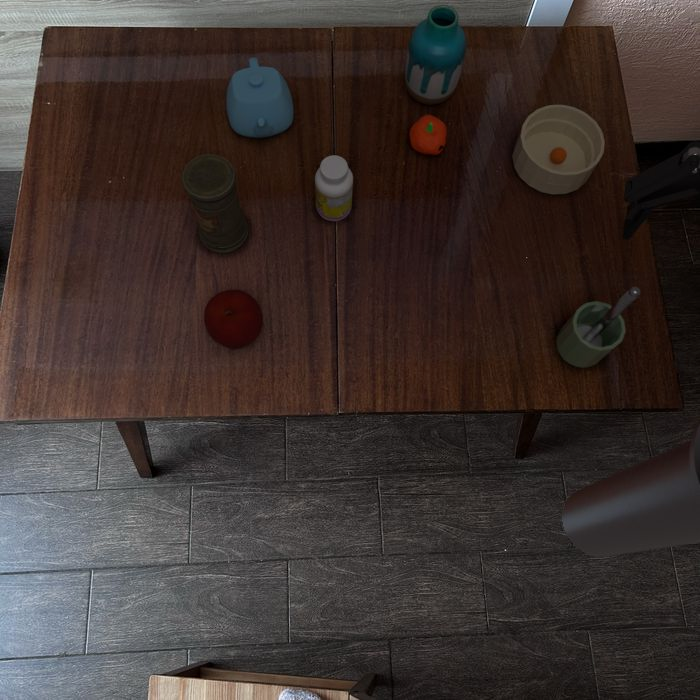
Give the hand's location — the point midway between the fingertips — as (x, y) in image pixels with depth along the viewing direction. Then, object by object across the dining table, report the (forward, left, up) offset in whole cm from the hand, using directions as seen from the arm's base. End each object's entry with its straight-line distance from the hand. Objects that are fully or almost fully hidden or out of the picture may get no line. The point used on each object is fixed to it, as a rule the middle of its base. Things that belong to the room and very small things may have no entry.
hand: (680, 242), depth 86 cm
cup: (0, 0, -37) cm, 37 cm away
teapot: (+31, +66, -37) cm, 82 cm away
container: (+6, +66, -37) cm, 76 cm away
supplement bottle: (+16, +48, -37) cm, 63 cm away
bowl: (+36, +10, -37) cm, 52 cm away
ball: (+36, +9, -35) cm, 51 cm away
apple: (-12, +58, -37) cm, 70 cm away
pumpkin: (+34, +34, -37) cm, 61 cm away
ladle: (0, 0, -36) cm, 36 cm away
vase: (+46, +36, -37) cm, 69 cm away
